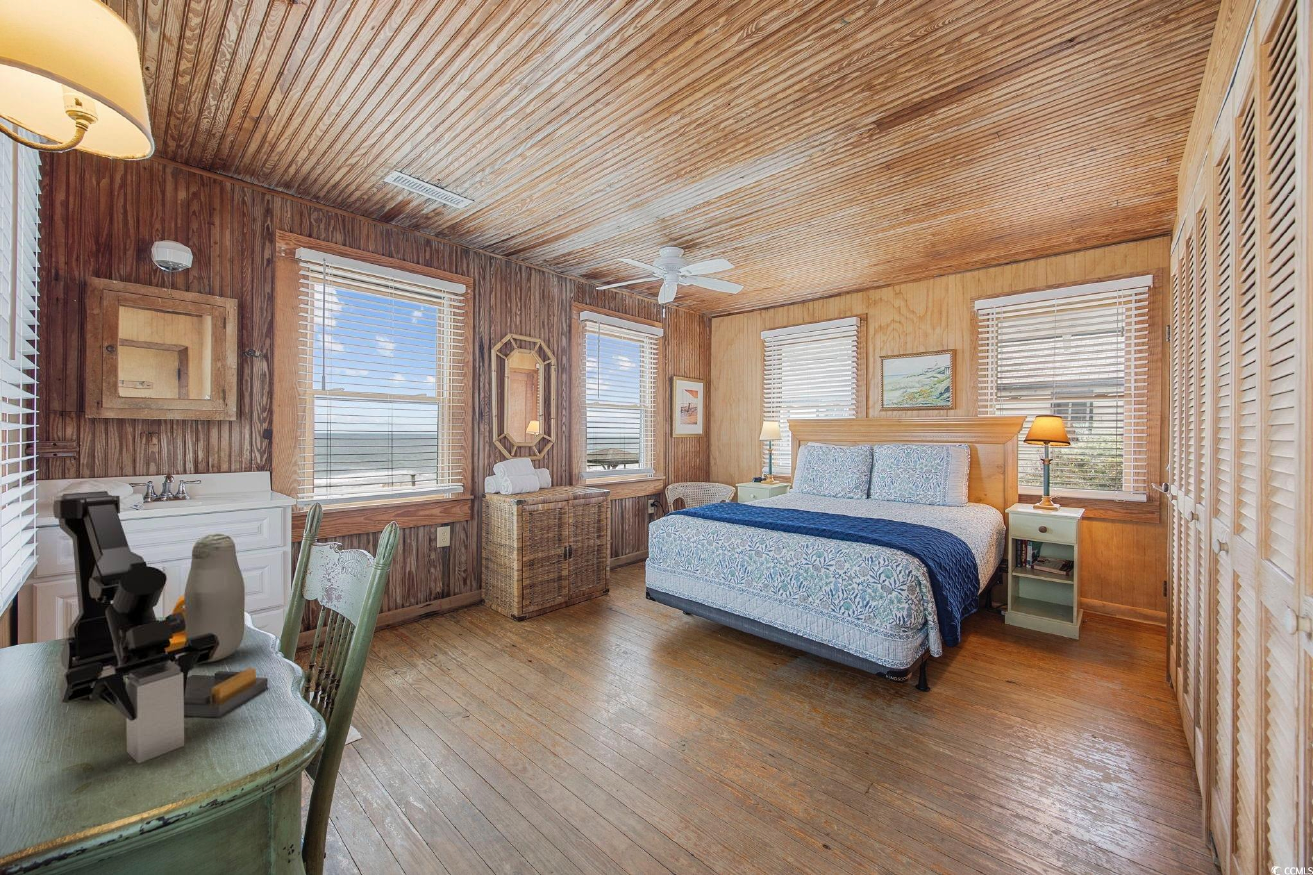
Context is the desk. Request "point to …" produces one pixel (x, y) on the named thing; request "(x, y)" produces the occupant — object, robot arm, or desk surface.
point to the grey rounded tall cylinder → (215, 594)
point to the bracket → (180, 638)
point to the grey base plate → (220, 692)
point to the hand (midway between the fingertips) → (158, 710)
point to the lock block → (155, 710)
